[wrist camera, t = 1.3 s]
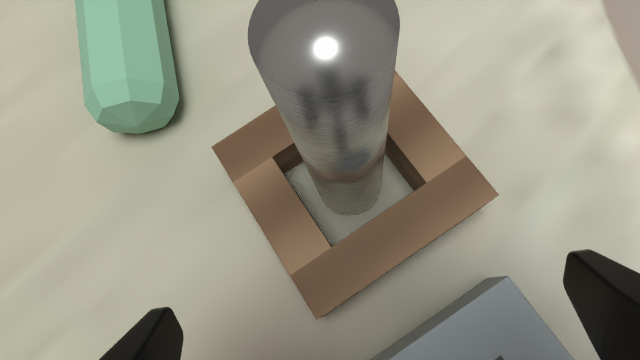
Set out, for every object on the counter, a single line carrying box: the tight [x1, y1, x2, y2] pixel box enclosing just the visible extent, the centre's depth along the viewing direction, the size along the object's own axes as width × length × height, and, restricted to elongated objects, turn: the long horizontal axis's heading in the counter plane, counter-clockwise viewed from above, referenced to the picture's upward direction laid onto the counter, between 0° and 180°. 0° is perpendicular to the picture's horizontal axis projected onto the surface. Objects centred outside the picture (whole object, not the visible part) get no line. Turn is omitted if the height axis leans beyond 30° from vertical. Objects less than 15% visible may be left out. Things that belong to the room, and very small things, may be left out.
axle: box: [248, 0, 400, 215], centre depth 16 cm, size 3×3×14 cm
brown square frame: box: [212, 71, 499, 320], centre depth 21 cm, size 10×10×3 cm
